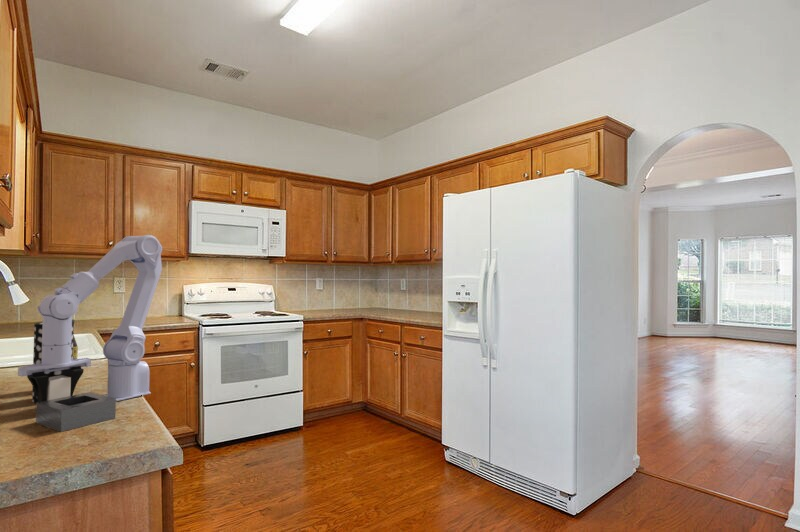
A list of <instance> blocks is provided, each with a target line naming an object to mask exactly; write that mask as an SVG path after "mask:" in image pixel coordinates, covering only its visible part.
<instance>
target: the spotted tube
mask: <svg viewBox="0 0 800 532" xmlns="http://www.w3.org/2000/svg"><path fill="white" fill-rule="evenodd" d="M42 326H43V321H42V322H35V323H34V325H33V328H34V329H33V361H32V362H33V363H32V365H34V364H39V363H42ZM74 328H75V323H74V322H72V341H71V360H72V359H73V335H74V334H73V332H74ZM52 369H55V368H52ZM44 374H46V376H49V377H54V376H61V375H63V370H59V371H52V372H45V373H44ZM63 376H64V375H63ZM31 391H32V394H31V396H32V397H31V402H32V403H34V404H37V402H38V399H37V395H36V392H35V390H34V388H33V387H32V390H31Z"/></svg>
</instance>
